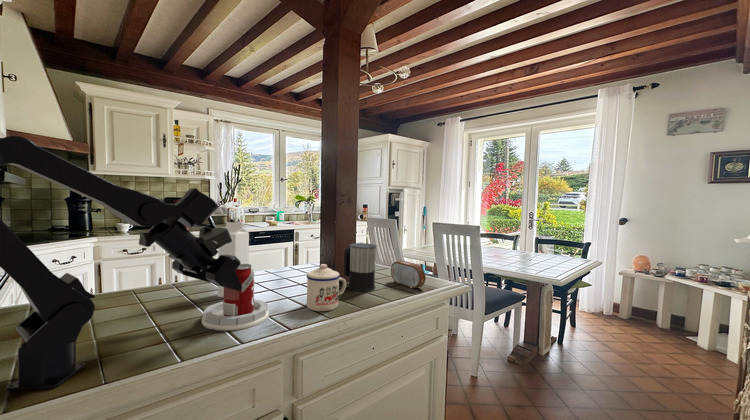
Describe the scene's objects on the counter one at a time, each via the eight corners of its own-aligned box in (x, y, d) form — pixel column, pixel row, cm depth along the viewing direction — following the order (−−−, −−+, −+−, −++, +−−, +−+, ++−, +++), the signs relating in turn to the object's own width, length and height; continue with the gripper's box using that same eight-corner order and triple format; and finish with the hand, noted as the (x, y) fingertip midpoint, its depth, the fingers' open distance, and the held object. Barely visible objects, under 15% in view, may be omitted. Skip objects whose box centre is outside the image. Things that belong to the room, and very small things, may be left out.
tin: (425, 290, 107) (426, 265, 107) (419, 291, 105) (420, 266, 105) (395, 280, 118) (395, 258, 118) (388, 281, 116) (389, 259, 116)
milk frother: (380, 287, 109) (381, 244, 108) (354, 299, 95) (356, 250, 95) (347, 281, 116) (348, 241, 115) (318, 291, 102) (319, 245, 102)
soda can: (233, 322, 72) (234, 270, 71) (217, 315, 76) (218, 266, 75) (259, 314, 77) (260, 265, 77) (243, 308, 81) (244, 262, 81)
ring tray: (262, 329, 71) (262, 318, 71) (190, 331, 69) (190, 320, 69) (273, 306, 86) (273, 297, 86) (214, 308, 83) (214, 299, 83)
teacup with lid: (315, 314, 81) (316, 269, 81) (300, 304, 88) (301, 263, 88) (353, 305, 89) (355, 264, 88) (337, 297, 96) (338, 259, 95)
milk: (231, 291, 99) (233, 221, 98) (248, 293, 97) (249, 222, 97) (217, 297, 93) (218, 222, 92) (234, 299, 91) (235, 223, 91)
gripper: (233, 218, 65) (275, 263, 75) (187, 214, 75) (229, 254, 85) (193, 261, 59) (244, 305, 68) (148, 250, 69) (198, 289, 78)
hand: (228, 285), depth 75 cm, fingers open, 9 cm apart
